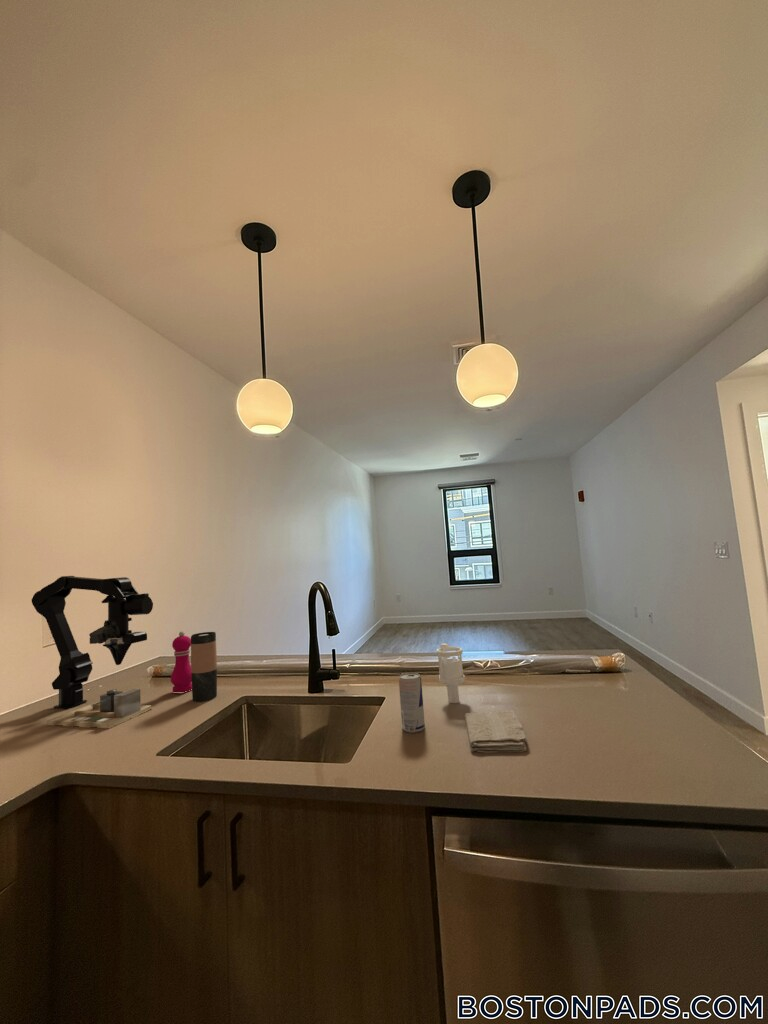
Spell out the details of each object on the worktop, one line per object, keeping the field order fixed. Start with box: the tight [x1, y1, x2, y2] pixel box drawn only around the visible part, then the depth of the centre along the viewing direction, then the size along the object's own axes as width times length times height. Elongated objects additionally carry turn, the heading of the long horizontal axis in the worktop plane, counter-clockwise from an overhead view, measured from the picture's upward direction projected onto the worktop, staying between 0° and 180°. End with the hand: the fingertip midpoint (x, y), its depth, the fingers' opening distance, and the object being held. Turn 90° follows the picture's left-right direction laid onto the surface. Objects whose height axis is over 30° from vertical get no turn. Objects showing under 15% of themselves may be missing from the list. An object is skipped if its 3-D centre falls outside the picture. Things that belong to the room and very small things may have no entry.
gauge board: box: [46, 688, 153, 729], centre depth 123 cm, size 23×14×7 cm, turn 73°
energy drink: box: [398, 672, 426, 734], centre depth 100 cm, size 5×5×12 cm
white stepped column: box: [436, 643, 466, 704], centre depth 116 cm, size 7×7×15 cm
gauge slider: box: [91, 688, 124, 712], centre depth 120 cm, size 4×8×6 cm, turn 163°
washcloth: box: [464, 710, 527, 753], centre depth 93 cm, size 12×18×3 cm, turn 174°
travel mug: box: [190, 631, 218, 703], centre depth 135 cm, size 8×8×20 cm
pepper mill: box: [170, 630, 192, 693], centre depth 145 cm, size 7×7×20 cm
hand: (118, 664), depth 137 cm, fingers closed
